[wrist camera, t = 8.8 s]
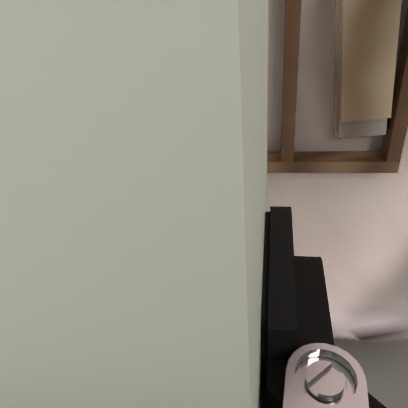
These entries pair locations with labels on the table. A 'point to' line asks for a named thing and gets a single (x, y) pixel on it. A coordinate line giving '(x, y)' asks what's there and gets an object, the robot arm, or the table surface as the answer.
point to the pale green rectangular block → (132, 202)
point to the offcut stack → (364, 65)
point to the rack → (337, 161)
